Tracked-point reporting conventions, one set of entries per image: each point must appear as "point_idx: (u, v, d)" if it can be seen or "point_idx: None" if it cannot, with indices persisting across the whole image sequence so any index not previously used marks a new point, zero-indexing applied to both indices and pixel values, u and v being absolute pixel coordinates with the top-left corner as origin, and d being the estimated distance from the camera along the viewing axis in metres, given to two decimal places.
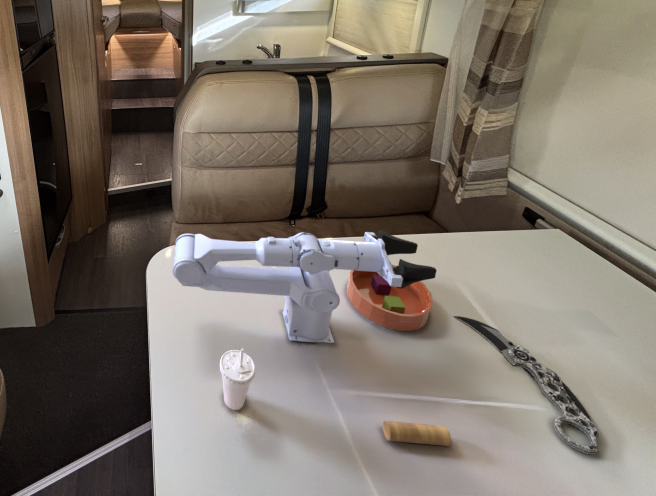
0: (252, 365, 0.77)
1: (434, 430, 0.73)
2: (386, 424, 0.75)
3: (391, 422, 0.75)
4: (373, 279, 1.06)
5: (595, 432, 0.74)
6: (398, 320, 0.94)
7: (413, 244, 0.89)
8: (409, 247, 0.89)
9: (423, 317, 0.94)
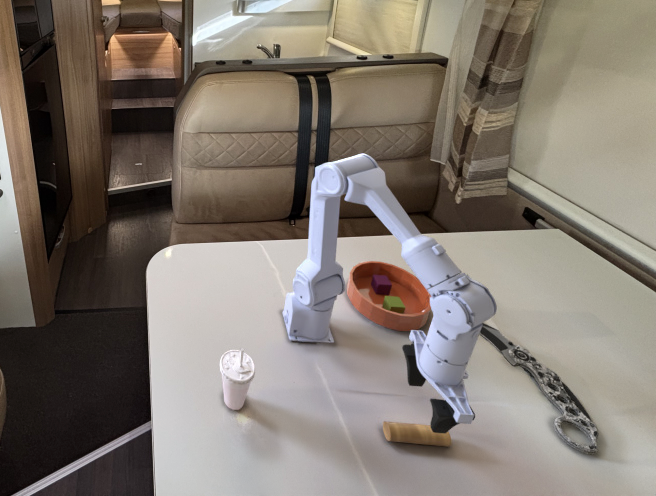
0: (252, 365, 0.77)
1: None
2: (386, 425, 0.75)
3: (391, 423, 0.75)
4: (373, 279, 1.06)
5: (595, 432, 0.74)
6: (398, 320, 0.94)
7: (422, 383, 0.74)
8: (418, 380, 0.74)
9: (423, 317, 0.94)
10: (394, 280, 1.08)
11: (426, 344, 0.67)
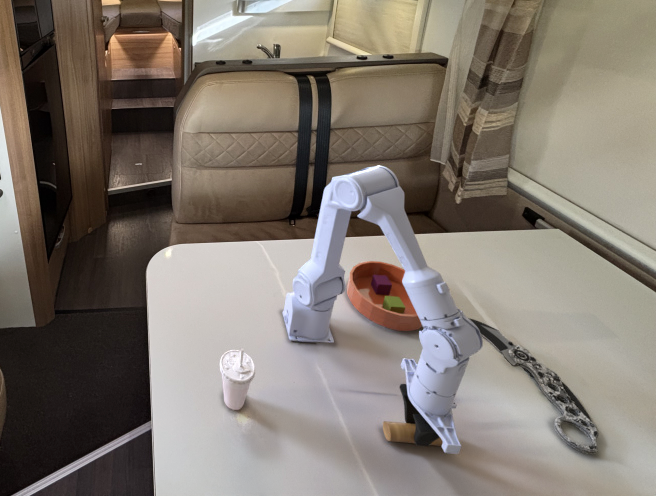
0: (252, 365, 0.77)
1: None
2: (386, 425, 0.75)
3: (391, 423, 0.75)
4: (373, 279, 1.06)
5: (595, 432, 0.74)
6: (398, 320, 0.94)
7: None
8: None
9: None
10: (394, 280, 1.08)
11: (416, 375, 0.70)
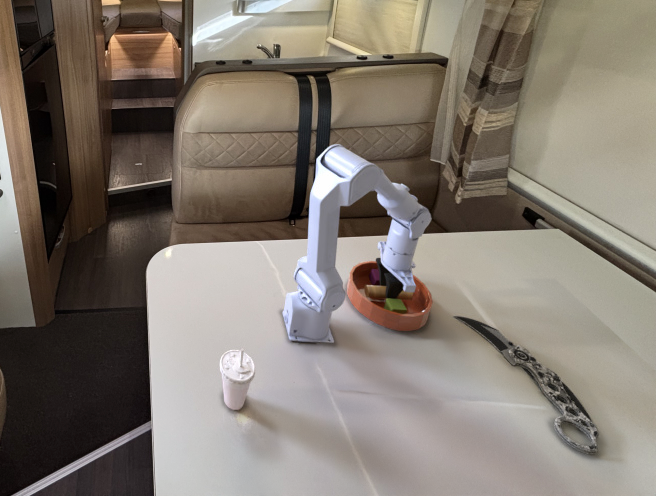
0: (252, 365, 0.77)
1: None
2: (366, 286, 1.02)
3: (370, 285, 1.02)
4: (371, 273, 1.07)
5: (595, 432, 0.74)
6: (398, 320, 0.94)
7: None
8: None
9: (423, 317, 0.94)
10: None
11: (386, 244, 0.97)
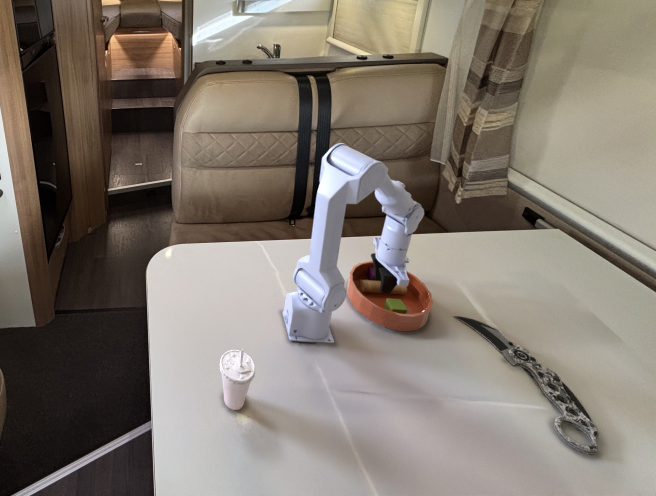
0: (252, 365, 0.77)
1: None
2: (362, 281, 1.05)
3: (365, 280, 1.05)
4: (369, 271, 1.08)
5: (595, 432, 0.74)
6: (398, 320, 0.94)
7: None
8: None
9: (423, 317, 0.94)
10: None
11: (381, 239, 1.00)
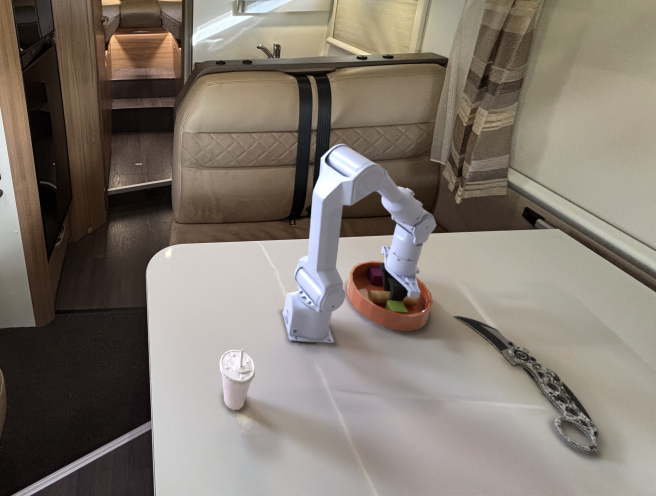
0: (252, 365, 0.77)
1: None
2: (370, 292, 1.01)
3: None
4: (369, 271, 1.08)
5: (595, 432, 0.74)
6: (398, 320, 0.94)
7: None
8: None
9: (423, 317, 0.94)
10: None
11: (390, 249, 0.97)
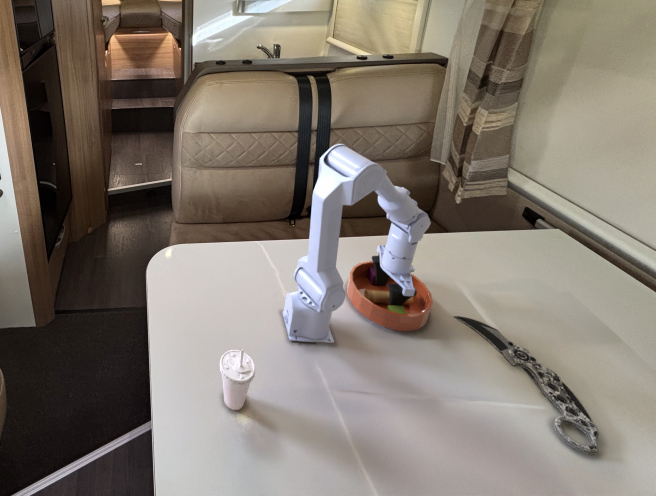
0: (252, 365, 0.77)
1: None
2: (367, 292, 1.02)
3: (371, 291, 1.02)
4: (369, 271, 1.08)
5: (595, 432, 0.74)
6: (398, 320, 0.94)
7: (386, 283, 1.05)
8: (383, 280, 1.04)
9: (423, 317, 0.94)
10: None
11: (385, 248, 0.97)
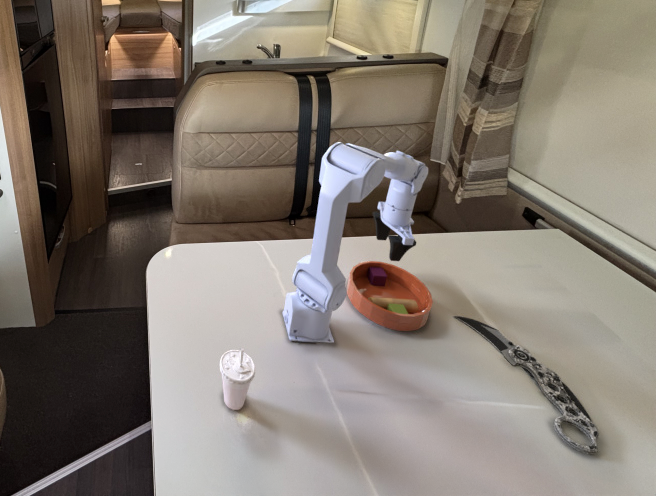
0: (252, 365, 0.77)
1: None
2: None
3: None
4: (369, 271, 1.08)
5: (595, 432, 0.74)
6: (398, 320, 0.94)
7: (386, 237, 1.09)
8: (383, 235, 1.09)
9: (423, 317, 0.94)
10: (394, 280, 1.08)
11: (386, 201, 1.02)
